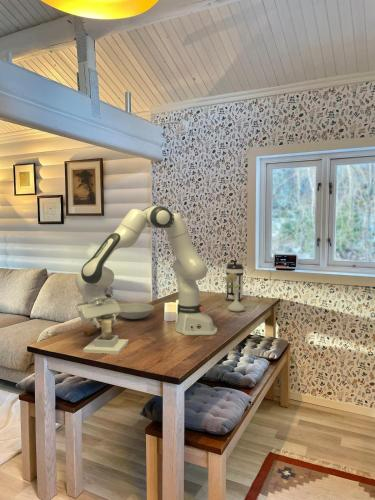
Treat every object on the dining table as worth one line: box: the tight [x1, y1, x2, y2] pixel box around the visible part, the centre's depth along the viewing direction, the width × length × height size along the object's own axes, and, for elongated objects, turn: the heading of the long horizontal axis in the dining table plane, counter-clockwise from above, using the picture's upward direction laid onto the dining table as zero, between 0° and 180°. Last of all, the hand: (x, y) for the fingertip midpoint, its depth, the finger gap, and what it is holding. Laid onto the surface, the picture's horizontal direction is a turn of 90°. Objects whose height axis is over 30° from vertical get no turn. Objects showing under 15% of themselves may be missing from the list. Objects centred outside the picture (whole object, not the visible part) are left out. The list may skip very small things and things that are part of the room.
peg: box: [100, 314, 113, 340], centre depth 171 cm, size 5×5×13 cm
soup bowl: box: [118, 302, 155, 320], centre depth 224 cm, size 24×24×7 cm
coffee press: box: [225, 259, 245, 303], centre depth 277 cm, size 17×16×30 cm
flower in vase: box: [225, 273, 246, 313], centre depth 245 cm, size 13×11×25 cm
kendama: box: [83, 319, 114, 337], centre depth 195 cm, size 8×6×18 cm
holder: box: [82, 334, 129, 355], centre depth 171 cm, size 16×16×4 cm
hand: (107, 325), depth 170 cm, fingers open, 7 cm apart
